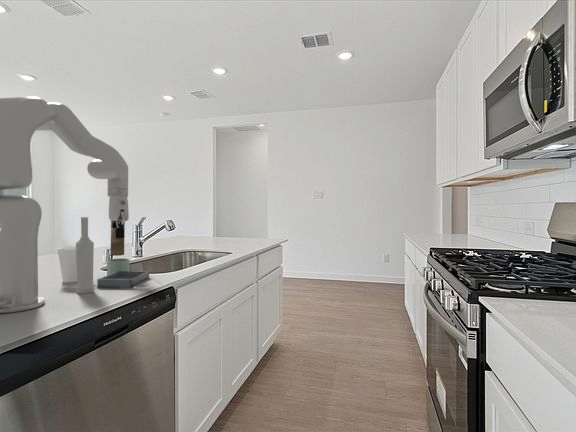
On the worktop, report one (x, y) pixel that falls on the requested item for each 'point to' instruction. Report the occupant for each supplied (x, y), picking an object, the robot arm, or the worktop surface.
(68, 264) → the foam cup
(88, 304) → the worktop surface
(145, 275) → the tray
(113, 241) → the walnut peg
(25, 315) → the worktop surface
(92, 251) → the bottle
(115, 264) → the deep cup
